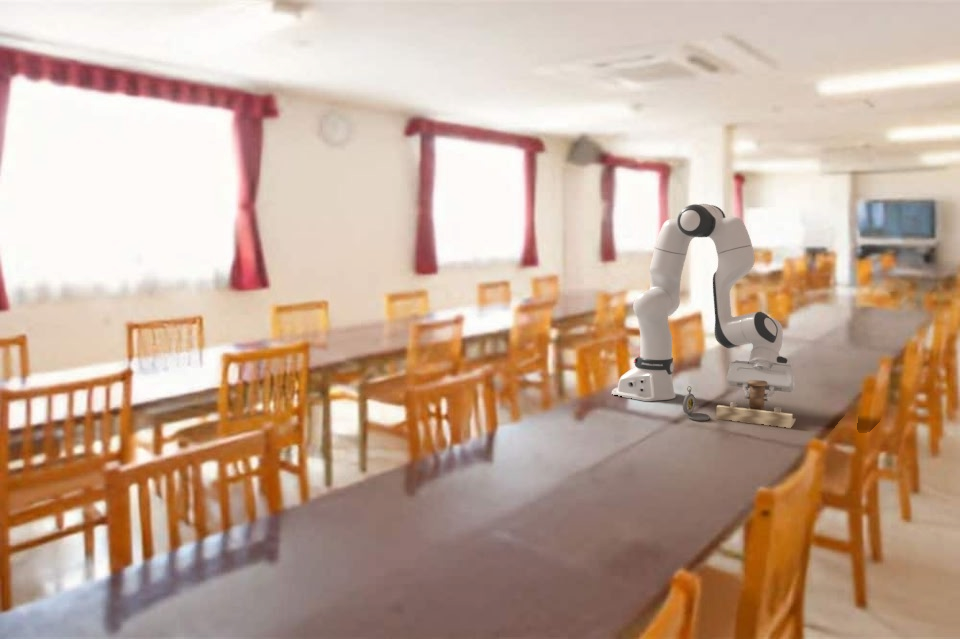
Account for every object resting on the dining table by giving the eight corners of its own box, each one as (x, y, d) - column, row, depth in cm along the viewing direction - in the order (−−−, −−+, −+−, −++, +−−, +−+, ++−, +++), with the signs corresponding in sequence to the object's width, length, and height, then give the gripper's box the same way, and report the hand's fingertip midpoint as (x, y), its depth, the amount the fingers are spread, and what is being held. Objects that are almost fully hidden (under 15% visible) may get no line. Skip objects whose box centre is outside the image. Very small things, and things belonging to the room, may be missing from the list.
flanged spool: (742, 416, 222) (743, 382, 221) (746, 411, 228) (748, 378, 227) (766, 419, 219) (767, 385, 217) (769, 413, 225) (771, 380, 223)
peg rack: (716, 418, 224) (716, 403, 223) (723, 411, 233) (723, 396, 232) (791, 428, 213) (791, 412, 212) (795, 420, 221) (796, 404, 221)
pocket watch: (711, 422, 221) (712, 390, 219) (683, 420, 222) (684, 389, 221) (708, 415, 229) (708, 384, 227) (681, 414, 230) (681, 384, 229)
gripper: (729, 354, 232) (721, 389, 225) (796, 360, 222) (790, 397, 215) (731, 365, 237) (723, 400, 230) (797, 371, 226) (791, 408, 219)
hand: (756, 398), depth 222 cm, fingers closed on flanged spool, 4 cm apart
